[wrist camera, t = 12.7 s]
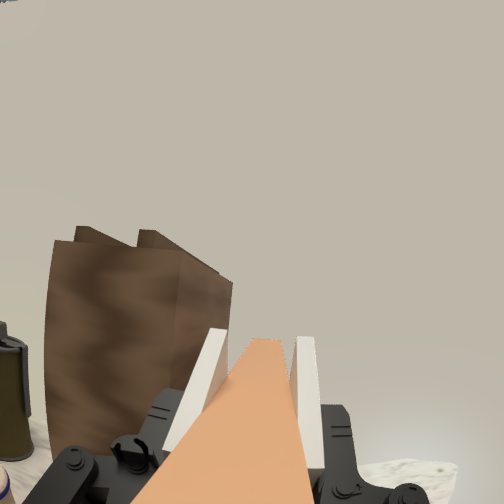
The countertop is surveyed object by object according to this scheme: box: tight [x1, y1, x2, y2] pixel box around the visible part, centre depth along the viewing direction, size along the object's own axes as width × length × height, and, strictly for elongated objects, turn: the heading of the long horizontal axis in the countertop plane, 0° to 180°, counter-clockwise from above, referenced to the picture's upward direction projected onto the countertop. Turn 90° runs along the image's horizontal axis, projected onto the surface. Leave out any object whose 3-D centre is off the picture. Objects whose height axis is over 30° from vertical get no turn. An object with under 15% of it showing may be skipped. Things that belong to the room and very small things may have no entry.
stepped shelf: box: [44, 226, 233, 461], centre depth 23 cm, size 18×20×31 cm
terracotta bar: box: [130, 338, 314, 504], centre depth 18 cm, size 3×30×3 cm, turn 176°
